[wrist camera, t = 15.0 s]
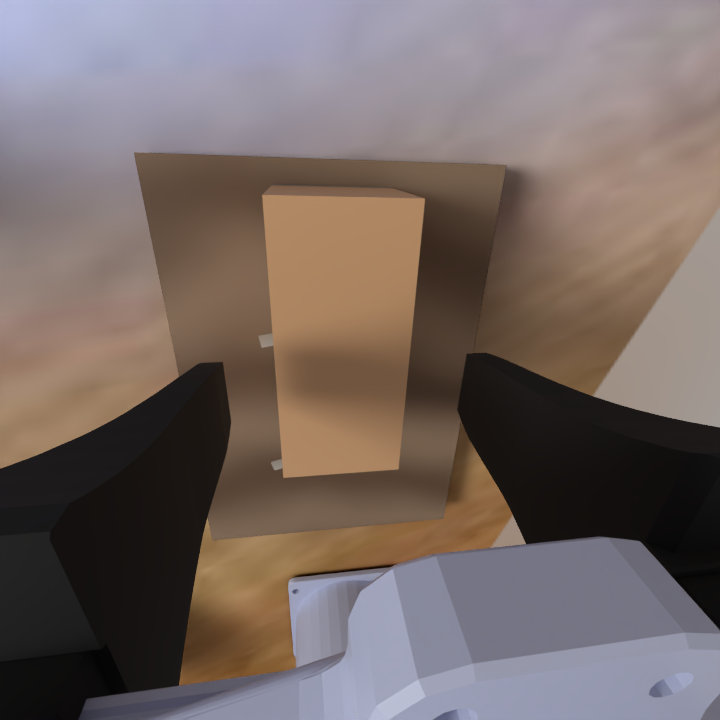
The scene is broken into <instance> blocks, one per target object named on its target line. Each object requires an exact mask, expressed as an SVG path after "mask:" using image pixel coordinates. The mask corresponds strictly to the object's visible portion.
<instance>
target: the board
mask: <svg viewBox="0 0 720 720" xmlns="http://www.w3.org/2000/svg"><path fill="white" fill-rule="evenodd" d="M134 155H135V160H136V165H137V170H138V175H139V180H140V185H141V190H142V195H143V200H144V205H145V210H146V215H147V219H148V224H149V229H150V234H151V239H152V244H153V249H154V254H155V259H156V264H157V269H158V274H159V279H160V284H161V289H162V294H163V299H164V303H165V308H166V313H167V318H168V323H169V328H170V333H171V338H172V343H173V348H174V353H175V358H176V363H177V368H178V373H179V377H180V376H181V375H183V374H184V373H185V372H187V371H188V370H190V369H191V368H193V367H194V366H196V365H197V364H199V363H208V362H223V366H224V373H225V381H226V388H227V395H228V402H229V409H230V416H231V429H230V436H229V442H228V449H227V453H226V457H225V460H224V464H223V467H222V471H221V474H220V477H219V481H218V484H217V487H216V490H215V494H214V497H213V500H212V504H211V507H210V510H209V513H208V521H209V526H210V531H211V536H212V540H221V539H231V538H242V537H253V536H263V535H274V534H285V533H296V532H306V531H317V530H328V529H338V528H349V527H360V526H370V525H381V524H392V523H403V522H413V521H424V520H435V519H444V513H445V507H446V502H447V496H448V491H449V485H450V479H451V474H452V468H453V463H454V457H455V451H456V446H457V440H458V434H459V429H460V423H461V418H460V416H459V413H458V411H457V408H458V402H459V396H460V390H461V384H462V378H463V372H464V366H465V360H466V354H470V353H473V350H474V345H475V339H476V333H477V328H478V322H479V317H480V311H481V305H482V300H483V294H484V288H485V283H486V277H487V272H488V266H489V260H490V255H491V249H492V244H493V238H494V232H495V227H496V221H497V216H498V210H499V204H500V199H501V193H502V187H503V182H504V176H505V171H506V165H486V164H457V163H427V162H398V161H369V160H340V159H311V158H281V157H252V156H223V155H194V154H164V153H134ZM272 184H293V185H332V186H370V187H391V188H394V189H397V190H400V191H403V192H406V193H409V194H413V195H416V196H419V197H422V198H425V205H424V215H423V225H422V235H421V245H420V255H419V266H418V276H417V286H416V296H415V306H414V316H413V327H412V337H411V347H410V357H409V367H408V377H407V388H406V398H405V408H404V418H403V428H402V438H401V449H400V459H399V469H397V470H384V471H370V472H357V473H343V474H330V475H316V476H303V477H289V478H283V466H282V453H281V440H280V426H279V413H278V400H277V386H276V373H275V360H274V346H273V333H272V320H271V306H270V293H269V280H268V266H267V253H266V240H265V226H264V213H263V199H262V195H263V194H264V193H265V192H266V191H267V189H268V188H269V187H270V186H271V185H272Z"/></svg>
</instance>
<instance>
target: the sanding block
mask: <svg viewBox="0 0 720 720" xmlns="http://www.w3.org/2000/svg"><path fill="white" fill-rule="evenodd" d="M262 199H263V213H264V226H265V240H266V253H267V266H268V280H269V293H270V306H271V320H272V333H273V346H274V360H275V373H276V386H277V400H278V413H279V426H280V440H281V453H282V466H283V478H289V477H303V476H316V475H330V474H343V473H357V472H370V471H384V470H397V469H399V459H400V449H401V438H402V428H403V418H404V408H405V398H406V388H407V377H408V367H409V357H410V347H411V337H412V327H413V316H414V306H415V296H416V286H417V276H418V266H419V255H420V245H421V235H422V225H423V215H424V205H425V198H422V197H419V196H416V195H413V194H409V193H406V192H403V191H400V190H397V189H394V188H391V187H370V186H332V185H293V184H272V185H271V186H270V187H269V188H268V189H267V191H266V192H265V193H264V194H263V195H262Z"/></svg>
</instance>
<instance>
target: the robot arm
mask: <svg viewBox="0 0 720 720" xmlns="http://www.w3.org/2000/svg"><path fill="white" fill-rule="evenodd" d="M457 411H458V413H459V416H460V418H461V421H462V424H463V426H464V428H465V431H466V433H467V435H468V437H469V439H470V441H471V443H472V444H473V446H474V448H475V449H476V451H477V453H478V455H479V456H480V458H481V460H482V461H483V463H484V465H485V466H486V468H487V469H488V471H489V473H490V474H491V476H492V478H493V479H494V481H495V483H496V484H497V486H498V488H499V489H500V491H501V493H502V494H503V496H504V498H505V500H506V502H507V504H508V505H509V507H510V509H511V512H512V514H513V516H514V518H515V520H516V523H517V525H518V527H519V529H520V531H521V533H522V536H523V538H524V540H525V542H526V544H524V545H515V546H505V547H495V548H486V549H476V550H467V551H458V552H448V553H439V554H431V555H428V556H424V557H421V558H417V559H413V560H410V561H406V562H403V563H399V564H396V565H394V566H392V567H387V568H378V569H369V570H360V571H350V572H341V573H332V574H323V575H314V576H305V577H295V578H292V579H290V580H289V583H288V590H289V602H290V614H291V627H292V639H293V651H294V656H295V657H296V668H294V669H291V670H288V671H281V672H274V673H267V674H260V675H253V676H246V677H238V678H231V679H224V680H217V681H210V682H203V683H196V684H188V685H181V686H179V680H180V672H181V664H182V657H183V651H184V644H185V637H186V630H187V624H188V617H189V610H190V604H191V599H192V593H193V587H194V581H195V575H196V569H197V564H198V558H199V553H200V547H201V542H202V537H203V532H204V528H205V524H206V520H207V517H208V513H209V510H210V507H211V504H212V500H213V497H214V494H215V490H216V487H217V484H218V481H219V477H220V474H221V471H222V467H223V464H224V460H225V457H226V453H227V449H228V442H229V436H230V429H231V416H230V409H229V402H228V395H227V388H226V381H225V373H224V366H223V362H208V363H199V364H197V365H196V366H194V367H193V368H191V369H190V370H188V371H187V372H185V373H184V374H183V375H181V376H180V377H178V378H177V379H176V380H174V381H173V382H171V383H170V384H169V385H167V386H166V387H164V388H163V389H162V390H160V391H159V392H157V393H156V394H154V395H153V396H151V397H150V398H148V399H147V400H145V401H143V402H142V403H140V404H139V405H137V406H136V407H134V408H132V409H131V410H129V411H128V412H126V413H124V414H123V415H121V416H119V417H117V418H116V419H114V420H112V421H110V422H108V423H107V424H105V425H103V426H101V427H99V428H97V429H95V430H93V431H91V432H89V433H87V434H85V435H83V436H81V437H78V438H76V439H74V440H71V441H69V442H67V443H65V444H62V445H60V446H58V447H55V448H53V449H51V450H48V451H46V452H44V453H42V454H39V455H37V456H34V457H31V458H29V459H26V460H23V461H21V462H18V463H15V464H13V465H10V466H7V467H4V468H1V469H0V720H720V428H718V427H714V426H708V425H702V424H697V423H691V422H686V421H682V420H677V419H672V418H667V417H663V416H659V415H655V414H651V413H647V412H643V411H639V410H635V409H632V408H628V407H624V406H621V405H618V404H615V403H611V402H609V401H605V400H602V399H599V398H596V397H593V396H590V395H587V394H585V393H582V392H579V391H577V390H574V389H572V388H569V387H567V386H564V385H562V384H559V383H557V382H554V381H552V380H550V379H547V378H545V377H543V376H540V375H538V374H536V373H534V372H531V371H529V370H527V369H525V368H523V367H520V366H518V365H516V364H514V363H511V362H509V361H507V360H504V359H502V358H499V357H497V356H494V355H491V354H488V353H470V354H466V360H465V366H464V372H463V378H462V384H461V390H460V396H459V402H458V408H457Z"/></svg>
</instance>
